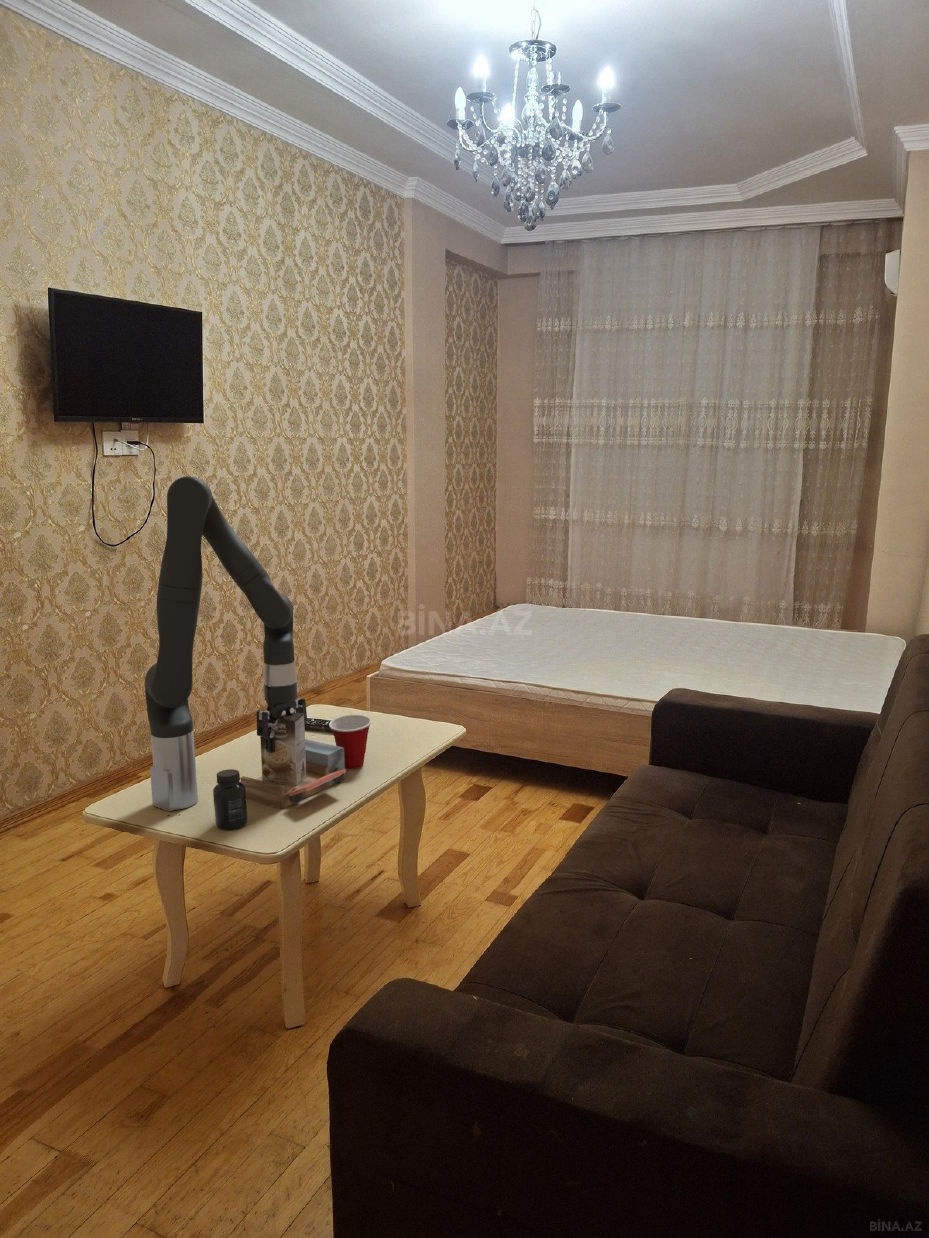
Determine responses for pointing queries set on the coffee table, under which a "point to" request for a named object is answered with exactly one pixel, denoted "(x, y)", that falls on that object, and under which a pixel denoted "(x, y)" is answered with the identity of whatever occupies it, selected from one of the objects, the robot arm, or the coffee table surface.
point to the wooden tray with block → (318, 764)
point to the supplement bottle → (230, 801)
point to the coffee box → (285, 752)
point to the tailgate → (317, 782)
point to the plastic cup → (351, 738)
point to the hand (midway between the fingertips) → (283, 746)
